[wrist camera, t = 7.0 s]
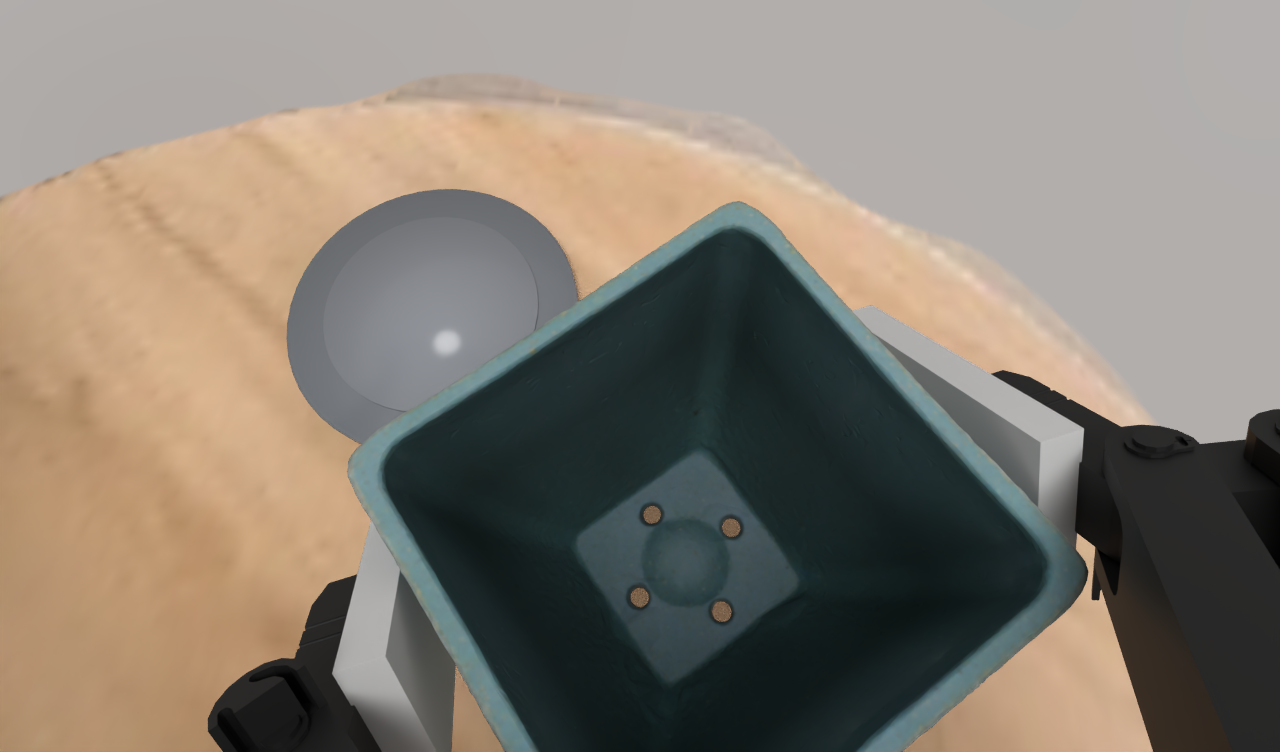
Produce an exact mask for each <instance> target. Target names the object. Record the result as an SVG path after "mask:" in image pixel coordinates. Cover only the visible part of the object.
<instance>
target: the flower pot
mask: <svg viewBox="0 0 1280 752" xmlns="http://www.w3.org/2000/svg"><path fill="white" fill-rule="evenodd" d="M347 473H348V478H349V480H350V482H351V484H352V487H353V489H354V492H355V494H356V496H357V498H358V499H359V501H360V503H361V505H362V507H363V509H364V510H365V511H366V513H367V514H368V516H369V517H370V519H371V520H372V522H373V524H374V525H375V527H376V529H377V531H378V533H379V535H380V537H381V539H382V540H383V542H384V543H385V545H386V546H387V548H388V549H389V551H390V553H391V554H392V556H393V558H394V559H395V561H396V564H397V566H398V567H399V569H400V571H401V573H402V574H403V575H404V577H405V578H406V580H407V582H408V583H409V585H410V587H411V589H412V591H413V592H414V594H415V596H416V598H417V600H418V601H419V603H420V605H421V606H422V608H423V609H424V611H425V613H426V615H427V617H428V618H429V620H430V621H431V623H432V625H433V628H434V629H435V631H436V633H437V635H438V636H439V638H440V640H441V641H442V643H443V645H444V647H445V648H446V650H447V651H448V653H449V654H450V656H451V657H452V659H453V661H454V662H455V664H456V666H457V668H458V670H459V672H460V674H461V675H462V677H463V679H464V681H465V682H466V684H467V686H468V687H469V690H470V692H471V694H472V695H473V696H474V698H475V699H476V701H477V703H478V705H479V707H480V709H481V711H482V713H483V715H484V717H485V718H486V720H487V721H488V723H489V725H490V726H491V728H492V731H493V732H494V734H495V735H496V737H497V738H498V740H499V742H500V743H501V745H502V747H503V749H504V751H505V752H902V751H904V750H905V749H906V748H907V747H908V746H909V745H910V744H912V743H913V742H914V741H915V740H916V739H917V738H918V737H919V736H921V735H922V734H923V733H925V732H926V731H928V730H929V729H930V728H931V727H933V726H934V725H935V724H936V723H937V722H938V721H939V720H940V719H941V718H942V717H943V716H944V715H945V714H946V713H948V712H949V711H950V710H951V709H953V708H954V707H955V706H956V705H957V704H959V703H960V702H962V700H963V699H964V698H965V697H966V696H967V695H968V694H970V693H972V692H973V691H974V690H975V689H976V688H978V687H979V686H980V684H981V683H983V682H984V681H985V680H986V679H987V678H988V677H989V676H990V675H991V674H993V673H994V672H996V671H997V670H998V669H999V668H1001V667H1002V666H1003V665H1004V664H1005V663H1006V662H1007V661H1008V660H1009V659H1011V658H1012V657H1013V656H1014V655H1015V654H1016V653H1017V652H1019V651H1020V650H1021V649H1022V648H1023V647H1024V646H1025V645H1027V644H1028V643H1029V642H1030V641H1032V640H1033V639H1034V638H1035V637H1037V636H1038V635H1039V634H1040V633H1041V632H1042V631H1043V630H1044V629H1046V628H1047V627H1048V626H1049V625H1051V624H1052V623H1053V622H1054V621H1056V620H1057V619H1058V618H1059V617H1060V616H1061V615H1062V614H1063V613H1065V612H1066V611H1067V610H1068V609H1069V608H1070V607H1071V606H1072V604H1073V603H1074V602H1075V600H1076V599H1077V598H1078V596H1079V595H1080V594H1081V592H1082V591H1083V588H1084V586H1085V584H1086V581H1087V577H1088V569H1087V566H1086V563H1085V561H1084V560H1083V558H1082V557H1081V556H1080V554H1079V553H1078V552H1077V550H1076V549H1075V548H1074V547H1073V546H1072V544H1071V543H1070V542H1069V541H1068V540H1067V538H1066V537H1065V536H1064V535H1063V534H1062V533H1061V531H1060V530H1059V529H1058V527H1057V526H1056V525H1055V524H1054V523H1053V522H1052V521H1051V520H1050V519H1049V518H1048V517H1046V516H1045V515H1044V514H1043V513H1042V511H1041V510H1040V509H1039V508H1038V507H1037V506H1036V505H1035V504H1034V503H1033V502H1032V501H1031V500H1030V499H1029V497H1028V496H1027V495H1026V493H1025V492H1024V491H1023V490H1022V489H1021V488H1019V487H1018V486H1017V485H1016V484H1015V483H1014V482H1013V481H1012V480H1011V479H1010V478H1009V477H1008V476H1007V474H1006V473H1005V472H1004V471H1003V470H1002V469H1001V468H1000V467H999V465H998V464H997V463H996V462H995V461H994V460H993V459H991V458H990V457H989V456H988V454H987V453H986V452H985V451H984V450H983V449H981V448H980V447H979V446H978V445H977V444H976V443H975V442H974V441H973V440H972V438H971V437H970V436H969V434H967V433H966V432H965V431H964V430H963V429H962V428H961V427H960V426H958V424H957V423H956V422H955V421H954V420H953V419H952V418H951V417H950V415H949V414H948V413H947V412H946V411H945V410H944V409H943V408H942V407H941V406H940V405H939V404H938V403H937V402H936V401H935V400H934V399H933V397H932V396H931V395H930V394H929V393H928V392H927V391H926V390H925V389H924V388H923V387H922V386H921V384H920V383H918V382H917V381H916V380H915V378H914V377H913V376H912V375H911V373H910V372H909V371H908V370H907V369H905V367H904V366H903V365H902V364H901V363H900V362H899V361H898V360H897V358H896V357H895V356H894V355H893V354H892V353H891V352H890V351H889V350H888V349H887V348H886V347H885V346H884V345H883V344H882V343H881V342H880V341H879V339H878V338H877V337H876V336H875V335H874V334H872V332H871V331H870V330H869V329H868V328H867V327H866V326H865V324H864V323H863V322H862V321H861V320H860V319H859V318H858V317H857V316H856V315H855V314H854V313H853V312H852V310H851V309H850V308H849V307H848V306H847V305H846V304H845V303H844V302H843V301H842V300H841V299H840V298H839V297H838V296H837V294H836V293H835V292H834V291H833V290H832V288H831V287H830V286H829V285H828V284H827V283H826V282H825V281H824V280H823V279H822V278H821V277H820V276H819V275H818V274H817V272H816V271H815V270H814V268H813V267H812V266H810V264H809V263H808V262H807V261H806V260H805V259H804V258H803V256H802V255H801V254H800V253H799V252H798V251H797V250H796V248H795V247H794V246H793V245H792V244H791V243H790V242H789V241H788V240H787V239H786V237H785V236H784V234H783V233H782V231H781V230H780V229H779V228H778V227H777V226H776V225H775V224H774V223H773V222H772V221H771V220H770V219H768V218H767V217H766V216H765V215H764V214H762V213H761V212H760V211H758V210H757V209H755V208H753V207H751V206H749V205H747V204H746V203H743V202H740V201H737V202H731V203H728V204H725V205H723V206H721V207H719V208H718V209H716V210H715V211H713V212H712V213H710V214H708V215H706V216H705V217H703V218H702V219H701V220H699V221H697V222H695V223H694V224H692V225H691V226H689V227H688V228H687V229H686V230H684V231H683V232H682V233H680V234H679V235H677V236H675V237H674V238H672V239H671V240H670V241H668V242H667V243H665V244H663V245H661V246H660V247H659V248H657V249H656V250H655V251H653V252H651V253H650V254H649V255H647V256H645V257H644V258H642V259H641V260H639V261H638V262H636V263H635V264H633V265H632V266H631V267H630V268H629V269H627V270H625V271H624V272H622V273H620V274H619V275H618V276H617V277H615V278H613V279H611V280H609V281H608V282H607V283H605V284H604V285H602V286H600V287H599V288H598V289H597V290H596V291H594V292H592V293H591V294H589V295H588V296H586V297H585V298H583V299H582V300H580V301H577V302H576V303H575V304H574V305H572V306H571V307H570V308H569V309H566V310H564V311H562V312H561V313H559V314H558V315H557V316H555V317H554V318H552V319H551V320H549V321H548V322H546V323H545V324H544V325H542V326H541V327H539V328H538V329H536V330H535V331H533V332H532V333H530V334H529V335H527V336H526V337H524V338H522V339H521V340H519V341H518V342H516V343H515V344H513V345H512V346H511V347H509V348H508V349H506V350H504V351H502V352H500V353H499V354H498V355H496V356H495V357H494V358H492V359H490V360H488V361H487V362H486V363H483V364H481V365H480V366H479V367H477V368H475V369H474V370H473V371H471V372H470V373H468V374H466V375H464V376H463V377H461V378H460V379H458V380H457V381H455V382H454V383H452V384H451V385H450V386H448V387H446V388H445V389H443V390H441V391H440V392H438V393H437V394H435V395H433V396H431V397H429V398H428V399H427V400H426V401H424V402H422V403H421V404H419V405H418V406H416V407H414V408H411V409H410V410H408V411H406V412H405V413H403V414H401V415H400V416H398V417H397V418H395V419H394V420H392V421H391V422H389V423H387V424H386V425H384V426H382V427H381V428H379V429H378V430H377V431H376V432H374V433H373V434H372V435H371V436H370V437H369V438H368V439H367V440H365V441H364V442H363V443H362V444H361V445H360V446H359V447H358V448H357V449H356V450H355V451H354V453H353V454H352V455H351V457H350V459H349V461H348V469H347ZM649 506H655V507H657V508H659V510H660V511H661V517H660V520H659V521H658V522H657V523H653V524H649V523H647V522H646V521H645V520H644V517H643V513H644V511H645V509H646V508H647V507H649ZM729 518H732V519H735V520H737V521H738V523H739V524H740V529H741V530H740V532H739V534H738V535H737V536H735V537H728V536H726V535H725V534H724V533H723V530H722V525H723V522H724V521H725V520H726V519H729ZM636 588H644V589H645V590H646V591H647V592H648V594H649V601H648V603H647V604H646V605H645V606H644V607H637V606H635V605H634V604H633V603H632V602H631V593H632V591H633V590H634V589H636ZM719 601H724V602H725V603H727V604H728V605H729V606H730V608H731V610H732V614H731V617H730V619H729V620H728V621H726V622H719V621H717V620H715V619H714V617H713V614H712V609H713V606H714V605H715V603H717V602H719Z"/></svg>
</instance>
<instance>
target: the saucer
mask: <svg viewBox="0 0 1280 752" xmlns="http://www.w3.org/2000/svg"><path fill="white" fill-rule="evenodd" d="M577 301H578V293H577V289H576V285H575V281H574V277H573V273H572V270H571V267H570V265H569V262H568V260H567V258H566V255H565V253H564V252H563V250H562V248H561V247H560V245H559V244H558V242H557V240H556V239H555V238H554V237H553V235H552V234H551V233H550V232H549V231H548V230H547V228H546V227H545V226H544V225H542V224H541V223H540V222H539V221H538V220H537V219H536V218H535V217H533V216H532V215H530V214H529V213H527V212H526V211H524V210H523V209H521V208H520V207H518V206H516V205H514V204H512V203H510V202H508V201H506V200H503V199H500V198H498V197H495V196H492V195H489V194H484V193H479V192H475V191H467V190H457V189H444V190H431V191H423V192H417V193H413V194H409V195H404V196H401V197H398V198H395V199H392V200H390V201H387V202H384V203H382V204H380V205H378V206H376V207H374V208H372V209H369V210H368V211H366V212H364V213H363V214H361V215H360V216H358V217H356V218H355V219H353V220H352V221H350V222H349V223H348V224H347V225H345V226H344V227H343V228H341V229H340V230H339V231H338V232H337V233H336V234H335V235H334V236H333V237H331V238H330V239H329V240H328V241H327V242H326V243H325V244H324V246H323V247H322V248H321V249H320V250H319V252H318V253H317V254H316V255H315V257H314V258H313V259H312V261H311V263H310V264H309V266H308V267H307V269H306V270H305V272H304V274H303V276H302V278H301V280H300V282H299V284H298V286H297V288H296V291H295V294H294V297H293V300H292V303H291V307H290V312H289V317H288V323H287V347H288V357H289V361H290V365H291V369H292V373H293V375H294V377H295V380H296V382H297V384H298V387H299V389H300V391H301V392H302V394H303V395H304V397H305V398H306V400H307V402H308V403H309V404H310V406H311V407H312V408H313V409H314V410H315V411H316V412H317V414H318V415H319V416H320V417H321V418H322V419H324V420H325V421H326V422H327V423H328V424H329V425H331V426H332V427H333V428H334V429H336V430H337V431H339V432H341V433H342V434H344V435H345V436H347V437H349V438H350V439H352V440H354V441H355V442H357V443H359V444H362V443H363V442H364V441H365V440H367V439H368V438H369V437H370V436H371V435H372V434H373V433H374V432H376V431H377V430H378V429H379V428H381V427H382V426H384V425H386V424H387V423H389V422H391V421H392V420H394V419H395V418H397V417H398V416H400V415H401V414H403V413H405V412H406V411H408V410H410V409H411V408H414V407H416V406H418V405H419V404H421V403H422V402H424V401H426V400H427V399H428V398H429V397H431V396H433V395H435V394H437V393H438V392H440V391H441V390H443V389H445V388H446V387H448V386H450V385H451V384H452V383H454V382H455V381H457V380H458V379H460V378H461V377H463V376H464V375H466V374H468V373H470V372H471V371H473V370H474V369H475V368H477V367H479V366H480V365H481V364H483V363H486V362H487V361H488V360H490V359H492V358H494V357H495V356H496V355H498V354H499V353H500V352H502V351H504V350H506V349H508V348H509V347H511V346H512V345H513V344H515V343H516V342H518V341H519V340H521V339H522V338H524V337H526V336H527V335H529V334H530V333H532V332H533V331H535V330H536V329H538V328H539V327H541V326H542V325H544V324H545V323H546V322H548V321H549V320H551V319H552V318H554V317H555V316H557V315H558V314H559V313H561V312H562V311H564V310H566V309H569V308H570V307H571V306H572V305H574V304H575V303H576V302H577Z"/></svg>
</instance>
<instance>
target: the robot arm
mask: <svg viewBox="0 0 1280 752" xmlns="http://www.w3.org/2000/svg"><path fill="white" fill-rule="evenodd" d="M852 312H853V313H854V314H855V315H856V316H857V317H858V318H859V319H860V320H861V321H862V322H863V323H864V324H865V326H866V327H867V328H868V329H869V330H870V331H871V332H872V334H874V335H875V336H876V337H877V338H878V339H879V341H880V342H881V343H882V344H883V345H884V346H885V347H886V348H887V349H888V350H889V351H890V352H891V353H892V354H893V355H894V356H895V357H896V358H897V360H898V361H899V362H900V363H901V364H902V365H903V366H904V367H905V369H907V370H908V371H909V372H910V373H911V375H912V376H913V377H914V378H915V380H916V381H917V382H918V383H920V384H921V386H922V387H923V388H924V389H925V390H926V391H927V392H928V393H929V394H930V395H931V396H932V397H933V399H934V400H935V401H936V402H937V403H938V404H939V405H940V406H941V407H942V408H943V409H944V410H945V411H946V412H947V413H948V414H949V415H950V417H951V418H952V419H953V420H954V421H955V422H956V423H957V424H958V426H960V427H961V428H962V429H963V430H964V431H965V432H966V433H967V434H969V436H970V437H971V438H972V440H973V441H974V442H975V443H976V444H977V445H978V446H979V447H980V448H981V449H983V450H984V451H985V452H986V453H987V454H988V456H989V457H990V458H991V459H993V460H994V461H995V462H996V463H997V464H998V465H999V467H1000V468H1001V469H1002V470H1003V471H1004V472H1005V473H1006V474H1007V476H1008V477H1009V478H1010V479H1011V480H1012V481H1013V482H1014V483H1015V484H1016V485H1017V486H1018V487H1019V488H1021V489H1022V490H1023V491H1024V492H1025V493H1026V495H1027V496H1028V497H1029V499H1030V500H1031V501H1032V502H1033V503H1034V504H1035V505H1036V506H1037V507H1038V508H1039V509H1040V510H1041V511H1042V513H1043V514H1044V515H1045V516H1046V517H1048V518H1049V519H1050V520H1051V521H1052V522H1053V523H1054V524H1055V525H1056V526H1057V527H1058V529H1059V530H1060V531H1061V533H1062V534H1063V535H1064V536H1065V537H1066V538H1067V540H1068V541H1069V542H1070V543H1071V544H1072V546H1073V547H1074V548H1075V549H1076V539H1077V533H1078V534H1079V535H1081V536H1082V537H1083V538H1084V539H1086V540H1087V541H1088V542H1090V543H1091V544H1092V545H1094V546H1095V557H1094V569H1093V581H1092V600H1099V597H1100V590H1102V592H1103V595H1104V598H1105V601H1106V605H1107V608H1108V611H1109V614H1110V617H1111V620H1112V623H1113V627H1114V630H1115V633H1116V636H1117V639H1118V642H1119V645H1120V649H1121V652H1122V655H1123V658H1124V661H1125V664H1126V667H1127V671H1128V674H1129V677H1130V680H1131V683H1132V686H1133V689H1134V692H1135V696H1136V699H1137V702H1138V705H1139V708H1140V711H1141V714H1142V718H1143V721H1144V724H1145V727H1146V730H1147V733H1148V736H1149V740H1150V743H1151V746H1152V749H1153V752H1280V409H1276V410H1270V411H1266V412H1262V413H1258V414H1257V415H1255V416H1254V417H1253V418H1251V419H1250V421H1249V426H1248V432H1247V437H1246V440H1237V441H1227V442H1218V443H1208V444H1199V443H1198V442H1197V441H1196V440H1195V439H1194V438H1193V437H1191V436H1189V435H1186V434H1184V433H1182V432H1180V431H1178V430H1174V429H1170V428H1165V427H1161V426H1151V425H1134V426H1125V427H1120V426H1119V425H1117V424H1115V423H1113V422H1111V421H1109V420H1108V419H1106V418H1104V417H1102V416H1100V415H1098V414H1097V413H1095V412H1093V411H1091V410H1089V409H1087V408H1086V407H1084V406H1082V405H1080V404H1078V403H1076V402H1075V401H1073V400H1071V399H1070V400H1067V398H1066V397H1065V396H1064V395H1062V394H1060V393H1058V392H1056V391H1054V390H1053V391H1051V390H1050V388H1049V387H1047V386H1045V385H1043V384H1042V383H1040V382H1038V381H1036V380H1034V379H1032V378H1031V377H1028V376H1024V375H1020V374H1016V373H1012V372H1008V371H1004V370H1002V371H999V372H996V373H992V374H990V373H988V372H986V371H985V370H983V369H981V368H979V367H978V366H976V365H974V364H973V363H971V362H969V361H967V360H966V359H964V358H962V357H960V356H959V355H957V354H955V353H954V352H952V351H950V350H948V349H947V348H945V347H943V346H942V345H940V344H938V343H936V342H935V341H933V340H931V339H930V338H928V337H926V336H924V335H923V334H921V333H919V332H918V331H916V330H914V329H912V328H911V327H909V326H907V325H905V324H904V323H902V322H900V321H899V320H897V319H895V318H893V317H892V316H890V315H888V314H887V313H885V312H883V311H881V310H880V309H878V308H876V307H875V306H873V305H870V306H867V307H864V308H860V309H857V310H853V311H852ZM305 629H306V631H303V634H302V637H301V640H300V643H299V646H300V649H298V650H297V653H296V656H295V659H287V658H281V659H278V660H274V661H271V662H267V663H264V664H262V665H261V666H259V667H257V668H255V669H253V670H251V671H249V672H248V673H246V674H245V675H243V676H242V677H241V678H240V679H238V680H237V681H236V682H235V683H233V684H232V685H231V686H230V687H229V688H228V689H227V690H226V691H225V692H224V693H223V695H222V696H221V697H220V698H219V699H218V700H217V702H216V703H215V705H214V707H213V709H212V711H211V713H210V715H209V717H208V732H209V733H210V735H211V736H212V737H213V739H214V740H215V741H216V743H217V744H218V745H219V747H220V748H221V749H222V751H223V752H451V749H452V728H453V708H454V687H455V666H456V664H455V662H454V661H453V659H452V657H451V656H450V654H449V653H448V651H447V650H446V648H445V647H444V645H443V643H442V641H441V640H440V638H439V636H438V635H437V633H436V631H435V629H434V628H433V625H432V623H431V621H430V620H429V618H428V617H427V615H426V613H425V611H424V609H423V608H422V606H421V605H420V603H419V601H418V600H417V598H416V596H415V594H414V592H413V591H412V589H411V587H410V585H409V583H408V582H407V580H406V578H405V577H404V575H403V574H402V573H401V571H400V569H399V567H398V566H397V564H396V561H395V559H394V558H393V556H392V554H391V553H390V551H389V549H388V548H387V546H386V545H385V543H384V542H383V540H382V539H381V537H380V535H379V533H378V531H377V529H376V527H375V525H374V524H373V522H372V520H371V523H370V527H369V531H368V535H367V539H366V543H365V547H364V551H363V555H362V558H361V562H360V566H359V570H358V574H357V575H354V576H351V577H347V578H344V579H341V580H338V581H335V582H332V583H329V584H328V585H327V586H326V588H325V589H324V590H323V592H322V593H321V594H320V596H319V597H318V598H317V600H316V601H315V602H314V603H313V605H312V607H311V610H310V613H309V616H308V619H307V622H306V625H305Z"/></svg>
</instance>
